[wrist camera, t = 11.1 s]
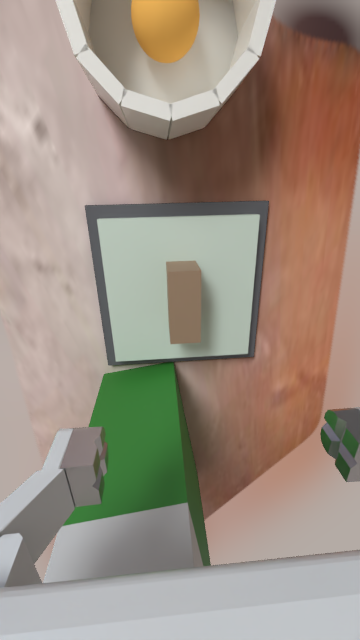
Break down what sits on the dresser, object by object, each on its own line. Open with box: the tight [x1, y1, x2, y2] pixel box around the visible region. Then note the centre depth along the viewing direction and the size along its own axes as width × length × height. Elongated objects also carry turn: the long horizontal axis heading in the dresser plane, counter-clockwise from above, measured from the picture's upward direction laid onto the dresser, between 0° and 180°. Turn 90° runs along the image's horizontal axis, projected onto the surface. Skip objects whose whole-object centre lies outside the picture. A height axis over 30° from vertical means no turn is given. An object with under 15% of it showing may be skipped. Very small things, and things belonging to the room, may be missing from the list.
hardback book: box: [43, 362, 211, 583], centre depth 22 cm, size 18×7×24 cm, turn 10°
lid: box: [97, 214, 260, 362], centre depth 24 cm, size 13×13×4 cm
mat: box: [85, 201, 269, 365], centre depth 26 cm, size 15×15×1 cm
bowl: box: [56, 0, 276, 140], centre depth 17 cm, size 11×11×6 cm
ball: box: [131, 0, 200, 63], centre depth 17 cm, size 4×4×4 cm
